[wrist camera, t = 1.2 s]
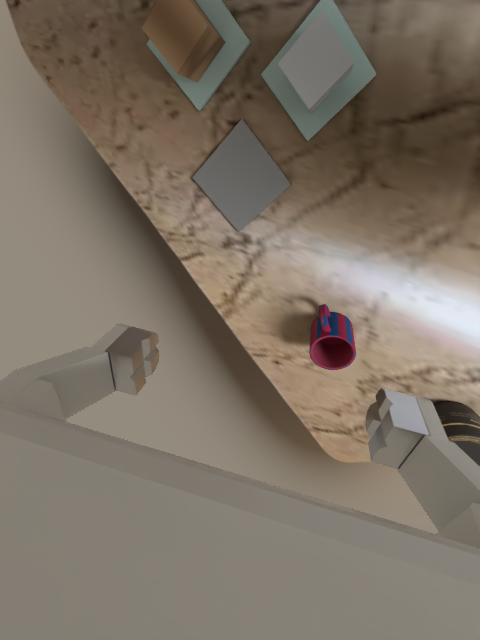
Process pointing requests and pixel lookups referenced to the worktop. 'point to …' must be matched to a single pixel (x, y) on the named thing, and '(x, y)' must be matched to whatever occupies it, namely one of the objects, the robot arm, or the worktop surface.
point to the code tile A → (222, 62)
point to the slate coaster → (241, 177)
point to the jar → (461, 427)
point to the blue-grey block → (316, 62)
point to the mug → (332, 340)
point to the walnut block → (183, 36)
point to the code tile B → (341, 95)
